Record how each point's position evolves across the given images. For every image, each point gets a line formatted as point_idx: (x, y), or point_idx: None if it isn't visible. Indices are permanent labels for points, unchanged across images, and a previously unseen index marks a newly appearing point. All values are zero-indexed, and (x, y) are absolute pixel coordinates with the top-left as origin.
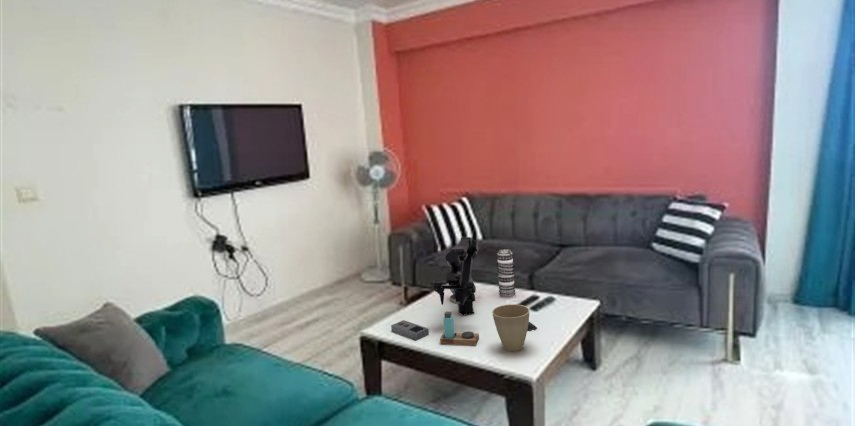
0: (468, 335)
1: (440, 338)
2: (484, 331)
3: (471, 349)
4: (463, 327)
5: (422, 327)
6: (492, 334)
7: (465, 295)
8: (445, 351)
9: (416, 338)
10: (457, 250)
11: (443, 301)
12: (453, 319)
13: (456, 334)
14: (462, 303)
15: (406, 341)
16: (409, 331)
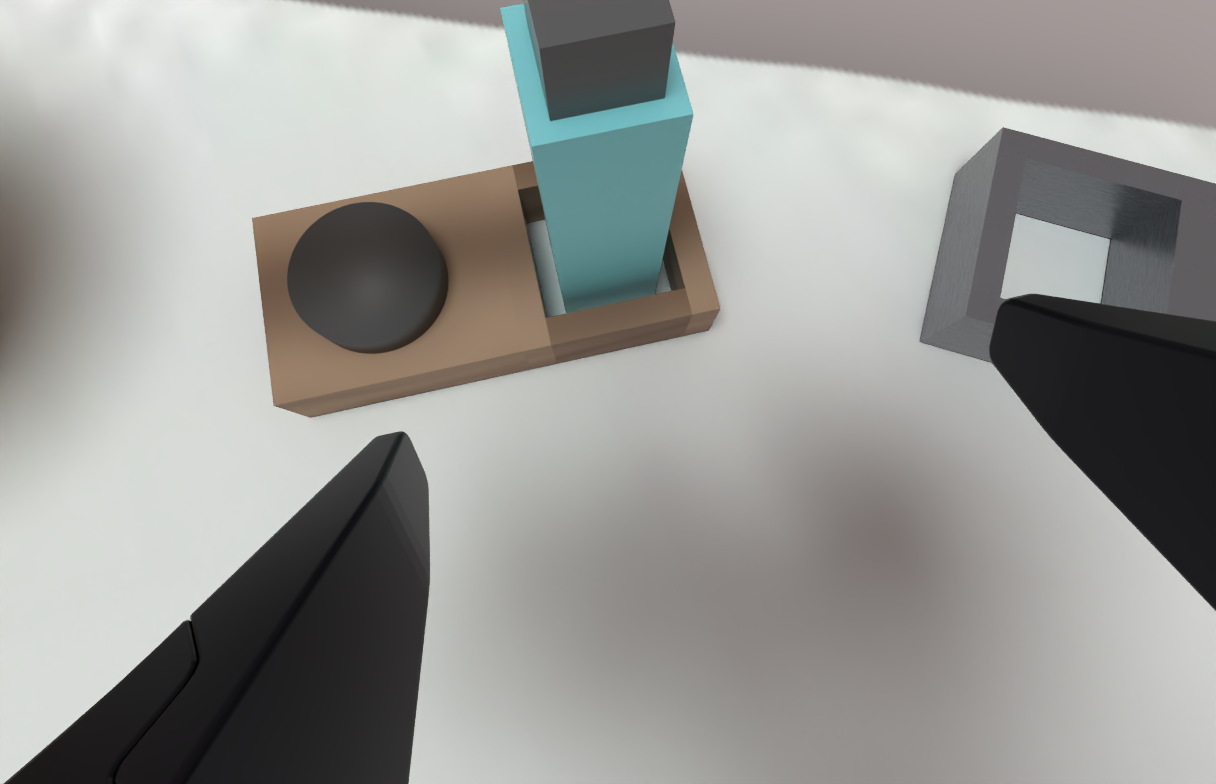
0: (338, 231)
1: None
2: None
3: (310, 169)
4: (626, 679)
5: None
6: (191, 587)
7: (112, 689)
8: None
9: (968, 165)
10: None
11: (1081, 458)
12: (540, 190)
13: (536, 292)
14: (373, 448)
15: (1039, 127)
16: (1126, 166)
